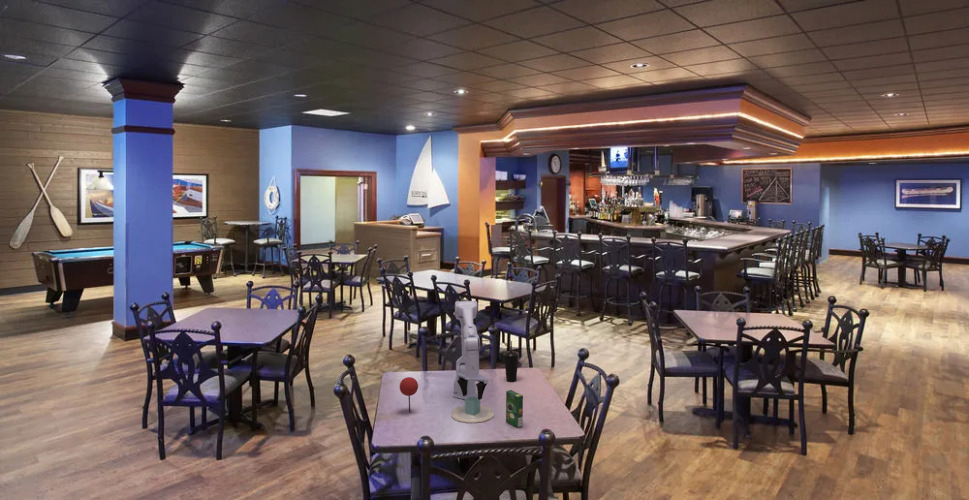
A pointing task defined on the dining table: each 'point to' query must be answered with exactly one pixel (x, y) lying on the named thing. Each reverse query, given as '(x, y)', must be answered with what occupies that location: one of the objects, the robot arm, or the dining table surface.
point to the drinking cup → (511, 364)
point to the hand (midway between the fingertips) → (472, 397)
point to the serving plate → (461, 416)
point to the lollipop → (408, 387)
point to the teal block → (472, 405)
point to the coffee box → (514, 408)
